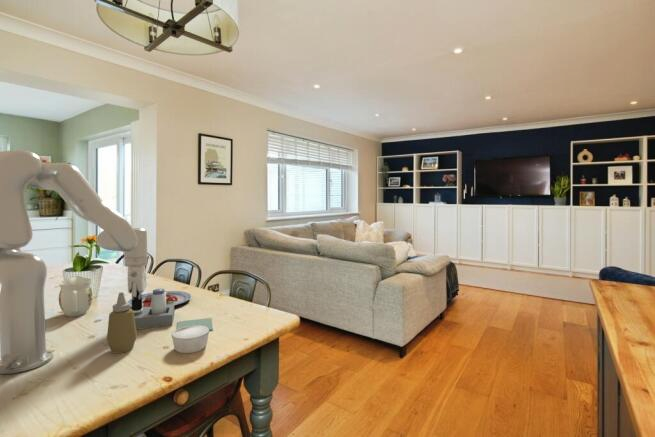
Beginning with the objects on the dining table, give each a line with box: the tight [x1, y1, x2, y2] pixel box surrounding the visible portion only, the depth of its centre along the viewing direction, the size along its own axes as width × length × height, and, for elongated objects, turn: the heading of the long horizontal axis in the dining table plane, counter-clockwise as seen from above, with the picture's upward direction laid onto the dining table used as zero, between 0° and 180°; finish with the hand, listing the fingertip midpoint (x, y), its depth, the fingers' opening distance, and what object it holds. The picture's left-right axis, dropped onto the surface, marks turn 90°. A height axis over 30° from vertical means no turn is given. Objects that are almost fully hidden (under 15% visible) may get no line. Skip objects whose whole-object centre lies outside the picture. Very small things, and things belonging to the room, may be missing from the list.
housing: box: [134, 305, 175, 330], centre depth 128 cm, size 16×12×4 cm
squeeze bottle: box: [106, 292, 138, 354], centre depth 105 cm, size 8×8×18 cm
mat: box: [176, 317, 214, 332], centre depth 125 cm, size 12×12×1 cm
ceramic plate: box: [127, 290, 192, 308], centre depth 152 cm, size 26×26×3 cm
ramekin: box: [171, 325, 210, 354], centre depth 107 cm, size 11×11×5 cm
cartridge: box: [151, 288, 166, 315], centre depth 129 cm, size 5×5×12 cm
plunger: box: [133, 308, 143, 315], centre depth 126 cm, size 4×4×4 cm
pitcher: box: [58, 275, 93, 317], centre depth 135 cm, size 11×18×14 cm, turn 34°
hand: (137, 309), depth 126 cm, fingers closed
